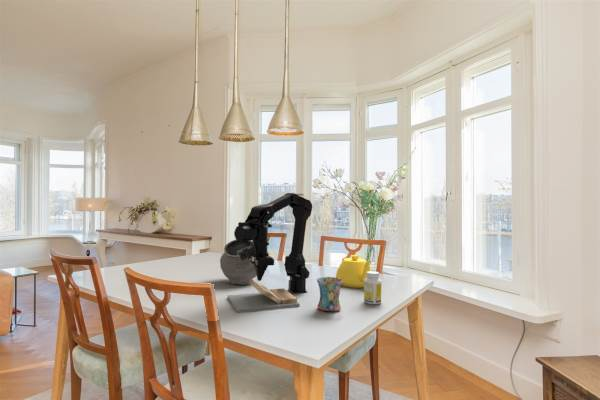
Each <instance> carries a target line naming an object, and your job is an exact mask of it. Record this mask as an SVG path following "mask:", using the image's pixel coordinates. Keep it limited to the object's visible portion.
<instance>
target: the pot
mask: <svg viewBox="0 0 600 400" xmlns="http://www.w3.org/2000/svg"><path fill="white" fill-rule="evenodd" d="M251 242H252V240H249V241H237V240H236V239H233V240H231V241H229V242H227V243H226V244H225V245H224V248H223V252H224V253H222V255H221V256H220V259H219V263H220V270H221V271H222V273H223V275H224V277H225V278H227V279H228V281H229V283H230V284H231V285H243V286H244V285H245V286H246V285H251V284H250V283H249V282H250V280H251V279H253V280H254V278H257V275H256V271H255V267H254V265H253V264H252V263H251V262H250V261H252V258H250V259H247V258H245V259H244V260H240V259H239V257H238V254H237V251H238V250H240V249H243V248H245V247H248V246H250V243H251Z"/></svg>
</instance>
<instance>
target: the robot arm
mask: <svg viewBox="0 0 600 400" xmlns="http://www.w3.org/2000/svg"><path fill="white" fill-rule="evenodd" d="M286 207H290V208H291V209H292V210H291V211H292V215H293V218H294V225H293V234H292V243H291V251H290V253H289V254H288V255H286V256H285V257H284V265H283V267H284V270H285V272H286V273H285V274H286V276H287V277H289V280H288V289H287V290H288V292H289V293H291V294H299V293H301V294H303V293H307V292H308V290H306V288H307V287H306V284H307V283H306V282H307V281H306V279H308V278H309V276H310V271H309V270H308V269H307V266H306V259H305V257H304V254H303V253H304V252H303V251H304V243H305V236H306V235H305V234H306V226H307V221H308V220H309V218H310V217H311V215H312V209H313V203H312V202H311V200H310V199H307V198H304V197H303V196H300V195H298V193H296V192H287V193H285V194H283V195H282V196H280V197H278V198H276V199H274V200H272V201H270V202H269V203H265V204H258V205H254V206H253V207H251V209H250V212H249V214H248V216H247V217H246V219H245V221H244V222H242V221H240V222H238V224H237V226H236V228H235V229H234V232H233V234H234V238H235V240H237V241H249V240H251V241H252V242H251V243H250V246H248V247H245V248H243V249H240V250H238V251H237V254H238V257H239V259H240V260H244V259H245V258H247V259H250V258H252V261H250V262H251V263H252V264H253V265H254V267H255V271H256V275H257V276H256V280H257V282H258V281H259V282H260V281H262V279H263V278H264V275H265V272H266V271H267V268H268V267H269V266H275V259H274V258H273V257H271V256H270V254H269V252H268V246H270V242H269V241H268V233H269V232H268V231H269V230H268V229H269V228H272V227H273V225H272V224H271V223H270V222H269V221H270V220H271V219H272V218H273V217H274V215H275V213H277V212H279V211H281V210H282V209H285V208H286Z"/></svg>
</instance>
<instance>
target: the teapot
mask: <svg viewBox="0 0 600 400" xmlns="http://www.w3.org/2000/svg"><path fill="white" fill-rule="evenodd" d="M350 257H351V258H349V257H345V258H343V260H342V261H341V263H340V264H339V266H338V268H337V271H336V273H335V278H340V279H342V280H343V282H342V284H341V286H343V287H346V288H347V287H348V288H356V289H357V288H358V289H359V288H361V289H362V288H363V289H364V280H365V279H366V278H367V272H368V271H373V270H372V267H370V266H371V263H372V261H373V260H368V261H367V260H366V259H364V258H363V259H362V258H359V255H358V254H351V255H350Z"/></svg>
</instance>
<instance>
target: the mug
mask: <svg viewBox="0 0 600 400" xmlns="http://www.w3.org/2000/svg"><path fill="white" fill-rule="evenodd" d="M316 281H317V284H318V288H319V301H318V304H317V308H318V309H319V310H321V311H323V312H336V311H339V310H341V309H342V306H341V303H340V295H341V293H340V291H341V290H340V289H341V286H342V285H341V284H342V282H343V280H342V279H340V278H336V276H334V277H332V276H322V277H317V279H316Z"/></svg>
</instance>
